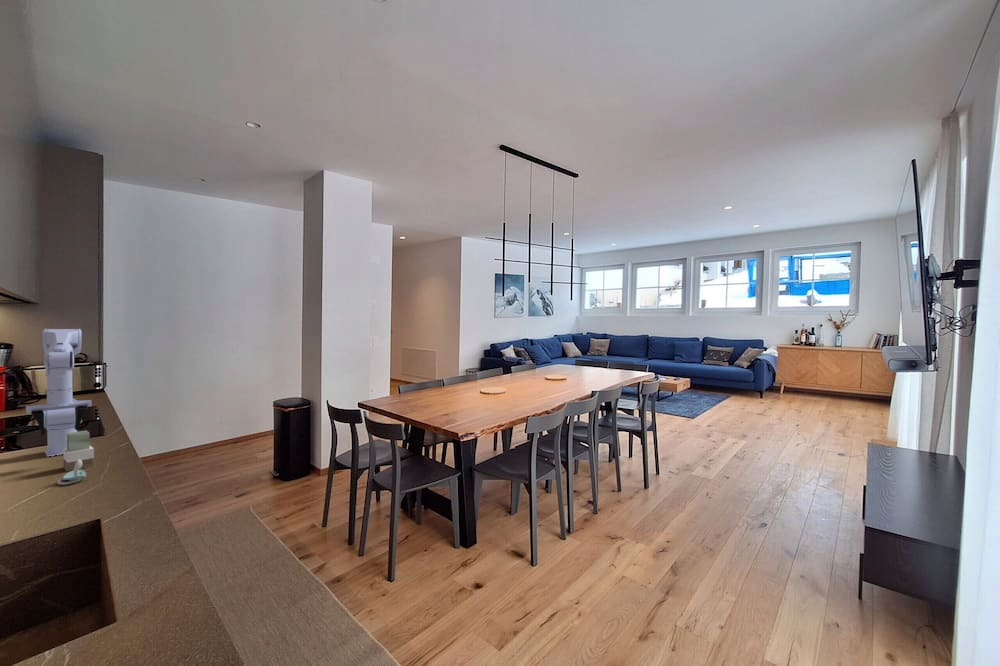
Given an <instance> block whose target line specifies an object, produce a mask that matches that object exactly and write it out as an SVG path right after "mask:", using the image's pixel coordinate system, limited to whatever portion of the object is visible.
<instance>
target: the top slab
mask: <svg viewBox="0 0 1000 666" xmlns="http://www.w3.org/2000/svg"><path fill="white" fill-rule="evenodd" d="M91 458H93V459H94V458H95V447H94V446H92V445H90V449H84V450H78V451H72V452H69V451H68V450H67V449H64V454H63V461H64V460H65V461H66V462H67V463H68V462H74V461H77V459H80V460H85V459H91Z"/></svg>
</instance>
